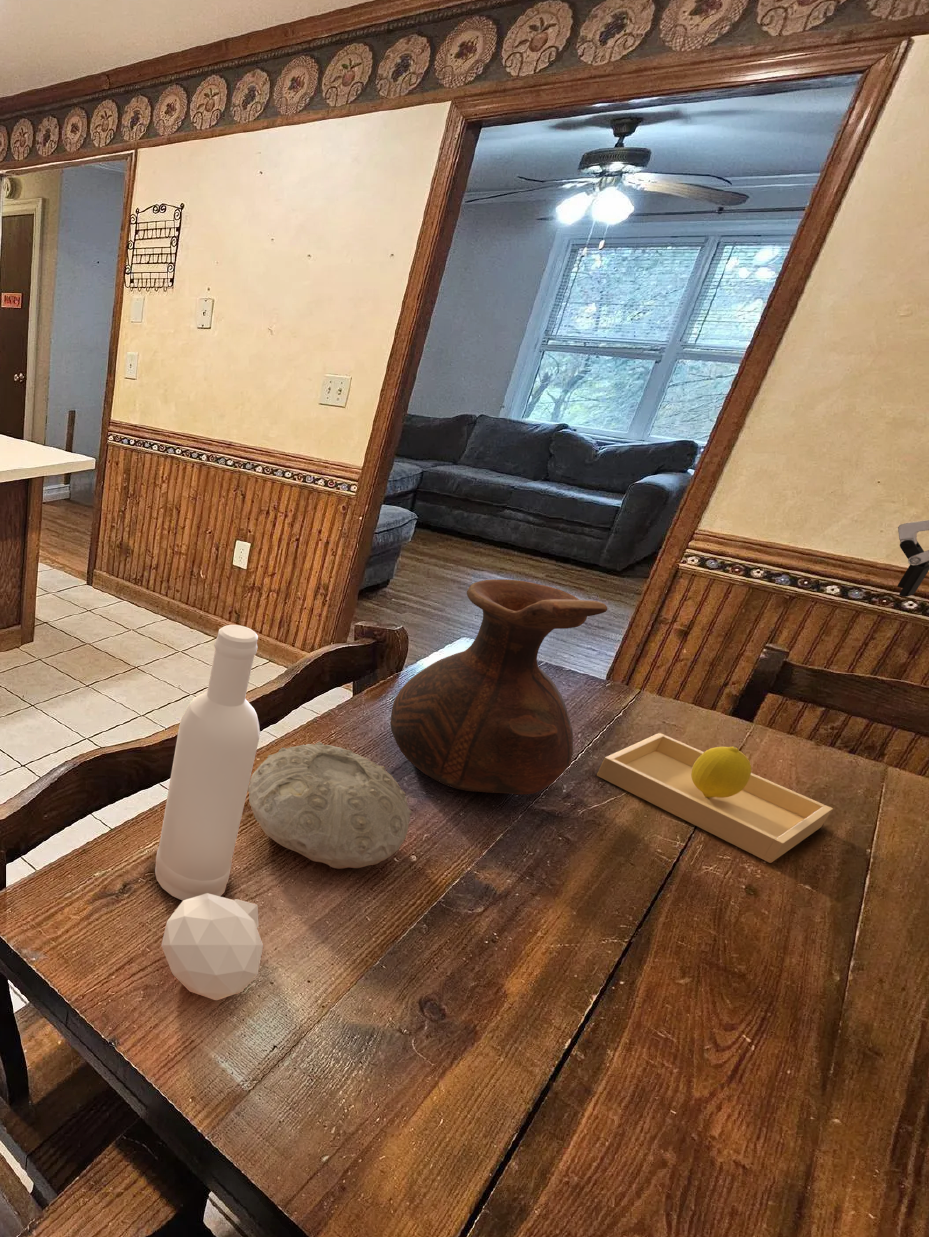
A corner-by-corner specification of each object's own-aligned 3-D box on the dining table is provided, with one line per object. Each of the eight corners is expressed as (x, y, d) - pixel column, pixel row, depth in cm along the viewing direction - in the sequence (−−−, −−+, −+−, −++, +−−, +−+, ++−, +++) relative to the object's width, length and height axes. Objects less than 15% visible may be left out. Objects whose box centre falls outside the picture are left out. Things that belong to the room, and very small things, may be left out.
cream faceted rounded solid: (236, 1036, 63) (292, 965, 72) (230, 935, 61) (288, 876, 70) (147, 1000, 69) (209, 939, 77) (140, 908, 67) (204, 857, 76)
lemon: (694, 805, 99) (722, 755, 95) (673, 781, 104) (698, 732, 100) (742, 813, 98) (772, 762, 94) (718, 789, 103) (746, 740, 99)
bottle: (162, 845, 87) (203, 608, 74) (231, 865, 84) (285, 624, 71) (146, 891, 80) (188, 639, 67) (220, 914, 78) (279, 657, 64)
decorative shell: (347, 913, 79) (371, 839, 74) (212, 823, 91) (226, 755, 86) (424, 846, 89) (449, 777, 85) (294, 774, 101) (310, 710, 97)
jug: (350, 760, 105) (409, 559, 92) (416, 713, 118) (476, 531, 105) (519, 843, 91) (618, 618, 77) (572, 779, 104) (665, 577, 91)
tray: (820, 827, 97) (833, 808, 96) (770, 863, 90) (783, 843, 89) (650, 749, 112) (659, 732, 111) (596, 775, 105) (604, 757, 104)
